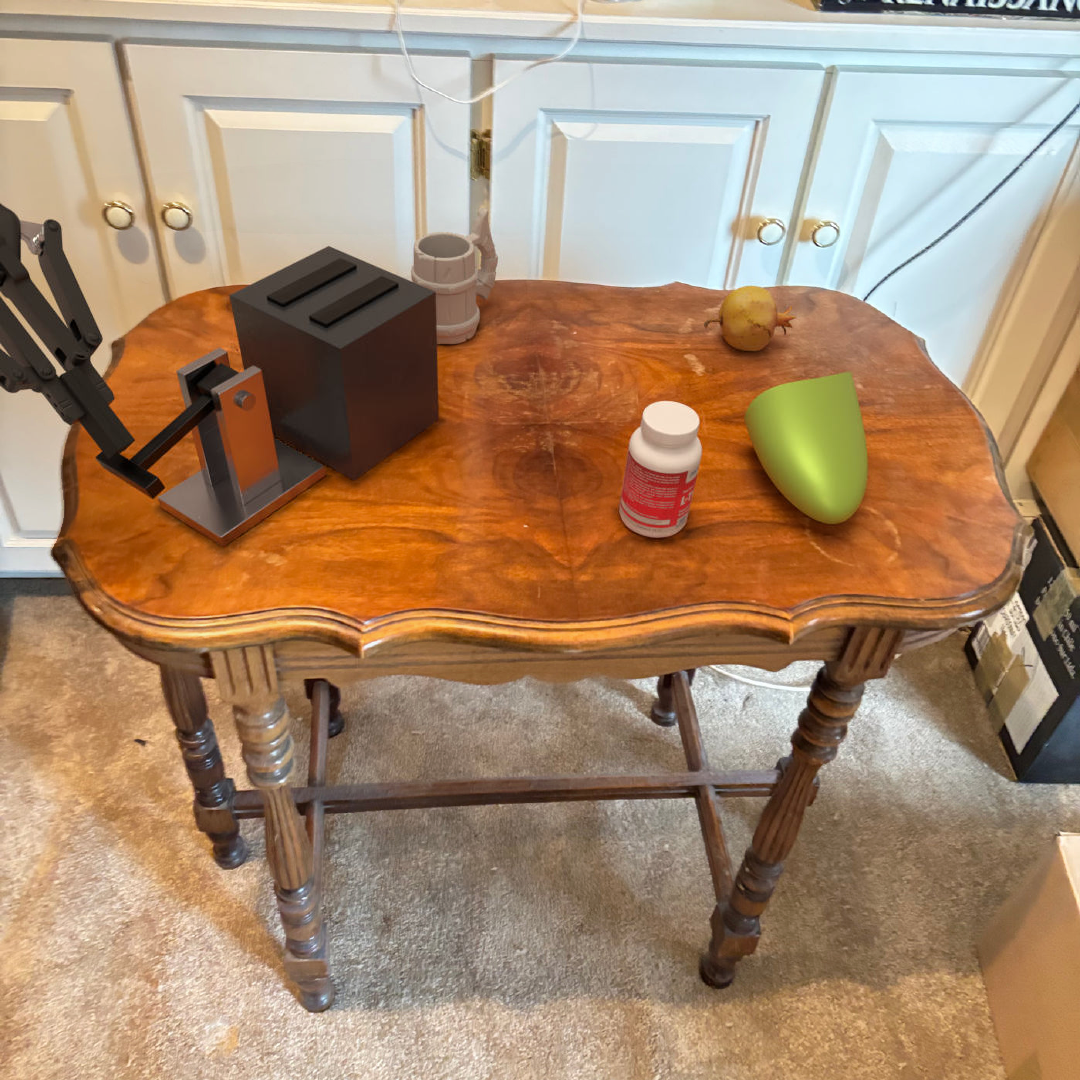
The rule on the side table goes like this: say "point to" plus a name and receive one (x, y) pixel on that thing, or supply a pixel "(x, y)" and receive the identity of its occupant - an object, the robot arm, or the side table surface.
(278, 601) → the side table surface
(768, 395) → the green rounded cone
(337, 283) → the toaster
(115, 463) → the lever
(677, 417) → the pill bottle
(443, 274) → the mug
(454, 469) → the side table surface
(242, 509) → the lever bracket
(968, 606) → the side table surface
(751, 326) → the fruit
